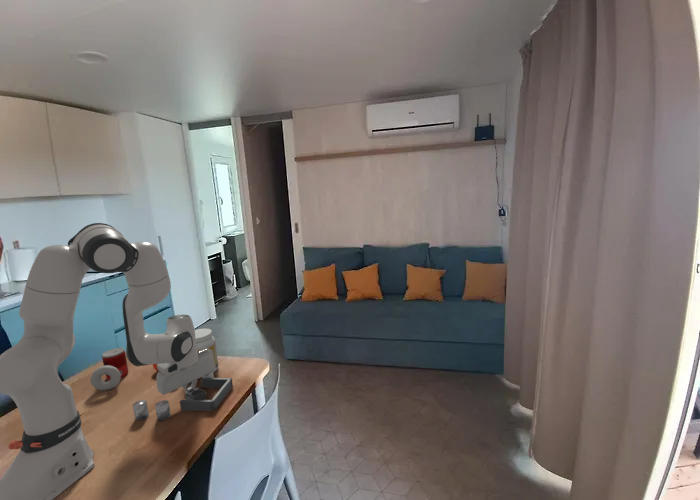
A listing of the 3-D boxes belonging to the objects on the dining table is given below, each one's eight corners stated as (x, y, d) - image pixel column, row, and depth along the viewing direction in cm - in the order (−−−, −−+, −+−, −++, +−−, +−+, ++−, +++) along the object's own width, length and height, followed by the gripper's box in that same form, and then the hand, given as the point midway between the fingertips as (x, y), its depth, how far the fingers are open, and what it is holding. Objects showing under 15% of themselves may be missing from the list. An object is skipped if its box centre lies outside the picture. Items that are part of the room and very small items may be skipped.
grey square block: (194, 406, 123) (193, 398, 123) (186, 402, 126) (184, 394, 125) (206, 398, 127) (205, 390, 127) (198, 395, 130) (197, 387, 130)
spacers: (180, 421, 115) (178, 407, 115) (129, 420, 117) (127, 407, 116) (216, 379, 140) (214, 368, 139) (173, 379, 142) (171, 368, 141)
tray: (214, 411, 120) (212, 401, 119) (181, 410, 121) (179, 401, 121) (232, 386, 135) (231, 378, 134) (203, 386, 136) (202, 378, 135)
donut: (123, 384, 141) (119, 361, 139) (121, 389, 137) (116, 365, 136) (94, 390, 138) (90, 366, 136) (91, 395, 134) (86, 371, 133)
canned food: (132, 371, 151) (128, 347, 149) (119, 381, 143) (114, 356, 141) (116, 371, 152) (112, 347, 150) (101, 381, 144) (97, 356, 142)
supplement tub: (186, 381, 140) (180, 341, 137) (189, 367, 152) (183, 330, 149) (218, 374, 144) (213, 335, 141) (219, 361, 155) (214, 325, 152)
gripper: (207, 344, 136) (212, 377, 138) (151, 367, 120) (158, 403, 123) (216, 348, 132) (220, 382, 134) (159, 372, 116) (166, 410, 119)
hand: (190, 392), depth 128 cm, fingers closed
